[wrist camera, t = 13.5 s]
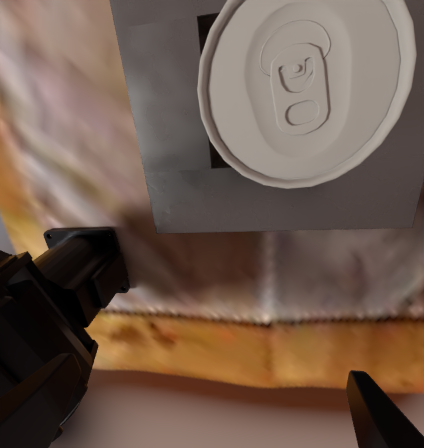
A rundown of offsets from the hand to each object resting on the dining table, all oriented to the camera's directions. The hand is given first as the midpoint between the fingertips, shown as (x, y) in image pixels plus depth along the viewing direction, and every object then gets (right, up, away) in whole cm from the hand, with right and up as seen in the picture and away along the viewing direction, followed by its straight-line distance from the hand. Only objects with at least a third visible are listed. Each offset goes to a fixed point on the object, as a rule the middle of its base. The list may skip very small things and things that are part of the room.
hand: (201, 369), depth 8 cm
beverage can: (+4, +13, +8) cm, 16 cm away
